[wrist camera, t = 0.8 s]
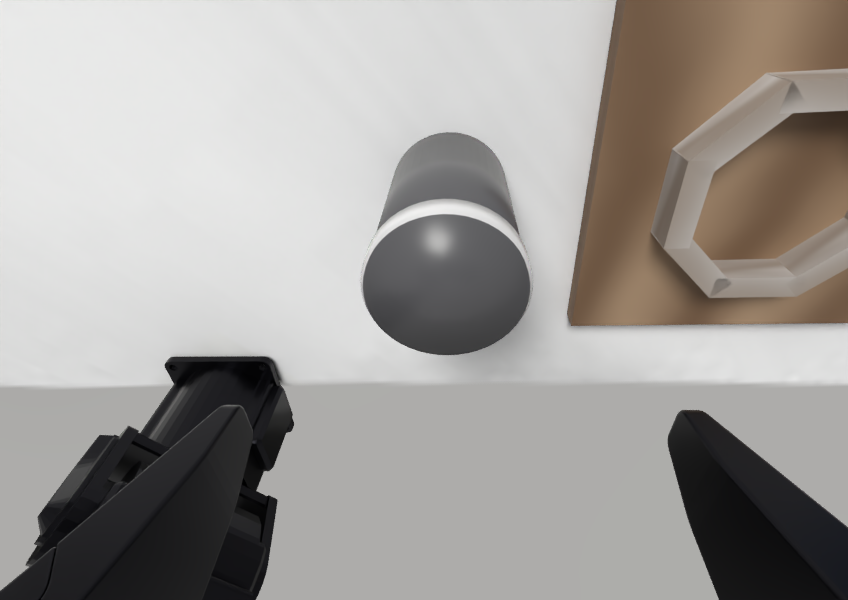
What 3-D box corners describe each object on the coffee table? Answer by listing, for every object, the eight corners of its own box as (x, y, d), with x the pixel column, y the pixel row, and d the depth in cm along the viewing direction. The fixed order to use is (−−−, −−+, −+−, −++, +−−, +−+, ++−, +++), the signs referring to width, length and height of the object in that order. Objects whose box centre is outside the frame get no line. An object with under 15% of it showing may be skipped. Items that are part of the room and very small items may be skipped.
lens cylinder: (396, 243, 22) (371, 357, 15) (384, 132, 19) (346, 217, 12) (505, 240, 21) (526, 356, 15) (511, 126, 18) (541, 210, 12)
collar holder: (567, 313, 23) (577, 345, 21) (618, -11, 15) (643, -10, 13) (854, 310, 22) (893, 343, 20) (1075, -44, 14) (1179, -47, 12)
